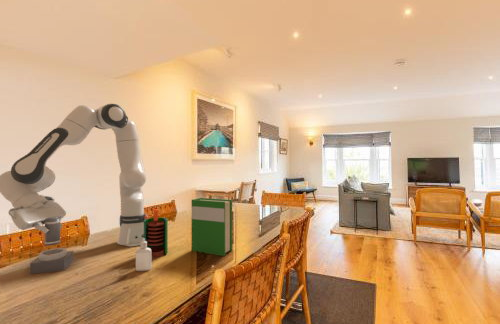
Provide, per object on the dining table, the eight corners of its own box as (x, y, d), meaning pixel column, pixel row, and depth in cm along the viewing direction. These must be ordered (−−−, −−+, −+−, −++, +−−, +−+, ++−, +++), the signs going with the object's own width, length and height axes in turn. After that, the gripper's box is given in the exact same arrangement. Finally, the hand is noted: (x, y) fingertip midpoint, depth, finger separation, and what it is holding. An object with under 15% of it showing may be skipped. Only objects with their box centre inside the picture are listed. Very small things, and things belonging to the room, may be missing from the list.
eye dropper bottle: (145, 272, 100) (145, 240, 100) (133, 270, 102) (133, 239, 102) (153, 268, 104) (153, 237, 104) (142, 266, 106) (142, 236, 106)
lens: (62, 241, 109) (62, 216, 109) (57, 244, 104) (57, 218, 104) (47, 242, 107) (47, 216, 107) (42, 246, 102) (42, 219, 102)
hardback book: (232, 250, 124) (232, 199, 124) (224, 256, 117) (224, 201, 117) (200, 246, 131) (200, 197, 131) (191, 250, 124) (191, 199, 124)
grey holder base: (73, 260, 113) (73, 245, 113) (64, 270, 102) (64, 253, 102) (42, 263, 109) (42, 248, 109) (29, 274, 99) (29, 257, 99)
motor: (144, 259, 114) (144, 212, 114) (142, 252, 122) (142, 209, 122) (169, 255, 119) (168, 210, 119) (165, 249, 126) (165, 207, 126)
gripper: (11, 203, 96) (37, 231, 95) (55, 196, 116) (77, 219, 116) (-1, 215, 96) (25, 243, 95) (45, 206, 116) (67, 229, 116)
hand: (54, 230), depth 106 cm, fingers closed on lens, 5 cm apart
